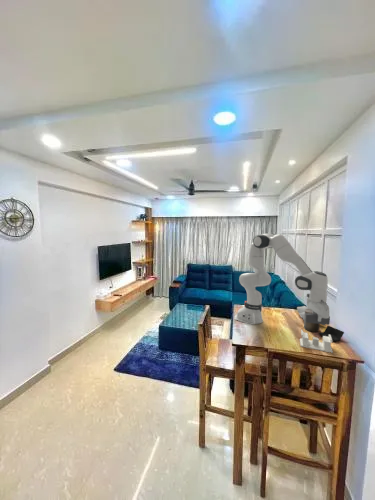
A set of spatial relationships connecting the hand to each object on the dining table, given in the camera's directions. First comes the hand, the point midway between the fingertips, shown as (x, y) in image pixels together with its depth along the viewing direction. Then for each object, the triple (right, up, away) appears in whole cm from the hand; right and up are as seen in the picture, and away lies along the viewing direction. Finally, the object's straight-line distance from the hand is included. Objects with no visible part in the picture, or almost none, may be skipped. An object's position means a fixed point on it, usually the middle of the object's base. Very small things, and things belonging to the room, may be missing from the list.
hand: (316, 319), depth 135 cm
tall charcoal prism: (0, -2, 0) cm, 2 cm away
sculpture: (+22, -14, +46) cm, 52 cm away
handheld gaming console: (+14, -17, +11) cm, 25 cm away
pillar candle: (+11, -15, +26) cm, 32 cm away
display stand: (0, -17, +2) cm, 17 cm away
